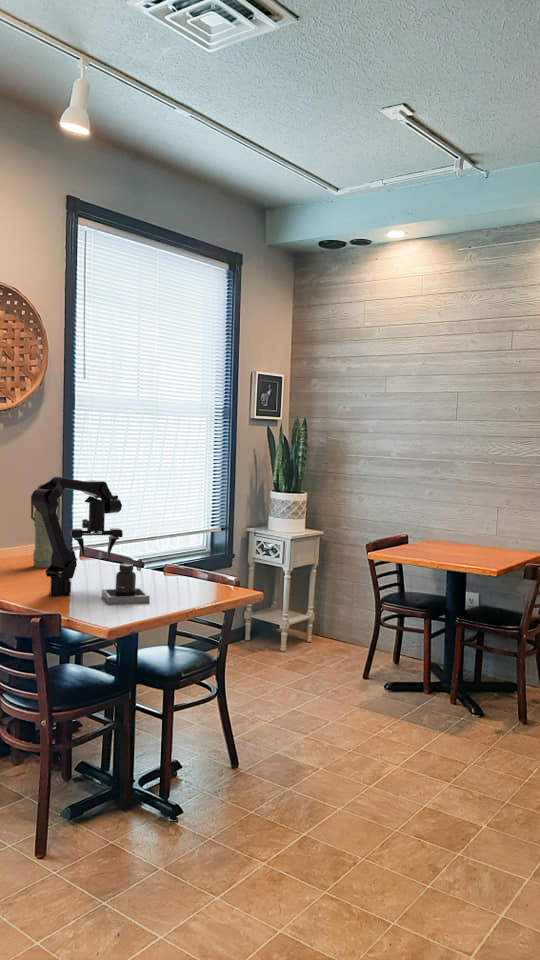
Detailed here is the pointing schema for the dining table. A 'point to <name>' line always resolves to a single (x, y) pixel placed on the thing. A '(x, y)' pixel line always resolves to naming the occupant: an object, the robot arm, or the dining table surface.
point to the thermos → (42, 540)
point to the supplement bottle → (125, 581)
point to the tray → (125, 597)
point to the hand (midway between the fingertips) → (95, 555)
